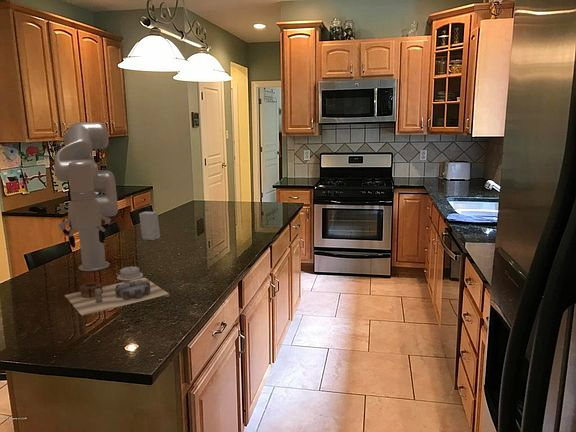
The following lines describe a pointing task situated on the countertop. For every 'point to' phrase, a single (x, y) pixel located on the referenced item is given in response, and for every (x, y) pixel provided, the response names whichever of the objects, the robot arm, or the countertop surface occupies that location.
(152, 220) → the skincare box
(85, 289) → the walnut gear
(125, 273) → the mechanical component
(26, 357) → the countertop surface
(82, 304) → the gear board
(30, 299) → the countertop surface
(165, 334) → the countertop surface
